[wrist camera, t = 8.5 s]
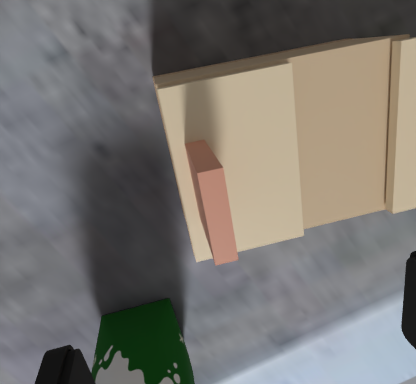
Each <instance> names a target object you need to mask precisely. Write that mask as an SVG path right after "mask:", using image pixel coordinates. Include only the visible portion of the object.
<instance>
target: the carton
mask: <svg viewBox="0 0 416 384" xmlns="http://www.w3.org/2000/svg"><path fill="white" fill-rule="evenodd" d="M409 37H410V34H406V35H394V36H381V37H369V38H357V39H352V38H348V39H341V40H336V41H331V42H326V43H321V44H316V45H311V46H306V47H301V48H295V49H290V50H285V51H280V52H275V53H270V54H265V55H260V56H255V57H249V58H244V59H239V60H234V61H229V62H224V63H219V64H214V65H209V66H203V67H198V68H193V69H188V70H183V71H178V72H173V73H168V74H163V75H157V76H152V77H153V81H154V86H155V90H156V95H157V99H158V103H159V108H160V112H161V117H162V121H163V125H164V130H165V134H166V138H167V143H168V147H169V152H170V156H171V160H172V165H173V169H174V173H175V178H176V182H177V187H178V191H179V195H180V200H181V204H182V209H183V213H184V217H185V219H186V223H187V218H186V214H185V210H184V205H183V201H182V196H181V192H180V187H179V183H178V179H177V174H176V170H175V165H174V161H173V157H172V152H171V148H170V143H169V139H168V134H167V130H166V126H165V121H164V117H163V112H162V108H161V103H160V99H159V95H158V90H157V88H161V87H166V86H171V85H176V84H181V83H186V82H191V81H197V80H202V79H207V78H212V77H217V76H222V75H227V74H232V73H237V72H242V71H247V70H252V69H257V68H262V67H267V66H272V65H277V64H282V63H292V72H293V86H294V100H295V115H296V129H297V144H298V158H299V173H300V187H301V202H302V216H303V229H307V228H311V227H315V226H319V225H323V224H327V223H331V222H335V221H339V220H343V219H347V218H352V217H356V216H360V215H364V214H368V213H372V212H376V211H380V210H384V209H385V206H386V183H387V159H388V135H389V111H390V87H391V64H392V41H398V40H403V39H408V38H409ZM187 227H188V223H187ZM188 232H189V227H188ZM189 236H190V232H189ZM190 240H191V236H190ZM191 244H192V241H191ZM192 249H193V245H192ZM193 253H194V249H193ZM194 256H195V254H194Z"/></svg>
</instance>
